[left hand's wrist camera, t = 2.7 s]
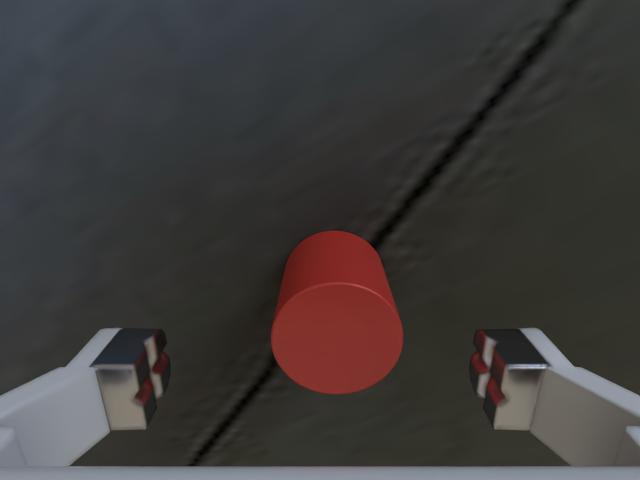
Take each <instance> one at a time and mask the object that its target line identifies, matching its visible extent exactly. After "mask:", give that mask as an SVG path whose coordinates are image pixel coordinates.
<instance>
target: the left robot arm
mask: <svg viewBox="0 0 640 480" xmlns="http://www.w3.org/2000/svg"><path fill="white" fill-rule="evenodd" d="M166 344H167V341H166V336H165V332H164V331H163V330H162V329H139V328H124V329H123V328H104V329H101V330H99V331H98V332H97V334H96V335H95V336H94V337H93V338H92V339H91V340H90V341H89V342H88V343H87V344H86V345H85V347H84V348H83V349H82V350H81V351H80V352H79V353H78V354H77V355H76V356H75V357H74V359H73V360H72V361H71V362H70V363H69V364H68V365H67V366H66V367H59V368H57V369H55V370H52V371H50V372H48V373H46V374H44V375H42V376H40V377H38V378H36V379H34V380H32V381H30V382H28V383H26V384H24V385H22V386H19V387H17V388H15V389H13V390H11V391H9V392H7V393H5V394H3V395H1V396H0V480H640V396H639V395H637V394H635V393H633V392H631V391H629V390H627V389H625V388H622V387H620V386H618V385H616V384H614V383H612V382H610V381H608V380H606V379H604V378H602V377H600V376H598V375H596V374H594V373H592V372H590V371H587V370H585V369H583V368H581V367H574V366H573V365H572V364H571V363H570V362H569V361H568V360H567V359H566V357H565V356H564V355H563V354H562V353H561V352H560V351H559V350H558V349H557V348H556V347H555V345H554V344H553V343H552V342H551V341H550V340H549V339H548V338H547V337H546V336H545V335H544V333H543V332H542V331H541V330H539V329H537V328H516V329H480V330H477V331H476V333H475V335H474V340H473V344H474V346H475V347H476V349H477V352H476V353H475V354H474V355H473V356H472V357H471V359H470V366H469V371H470V380H471V383H472V387H473V389H474V391H475V393H476V395H478V396H479V397H480V398H482V399H483V400H484V405H483V409H484V411H485V413H486V415H487V417H488V418H489V420H490V422H491V424H492V426H493V428H494V429H505V430H530V432H531V433H532V434H533V435H534V436H535V437H537V438H538V439H539V440H540V441H542V442H543V443H544V444H545V445H546V446H548V447H549V448H550V449H551V450H552V451H554V452H555V453H556V454H557V455H559V456H560V457H561V458H562V459H563V460H565V461H566V462H567V463H568V464H569V465H571V466H377V467H320V466H69V465H71V464H72V463H73V462H74V461H76V460H77V459H78V458H79V457H80V456H82V455H83V454H84V453H85V452H86V451H88V450H89V449H90V448H91V447H93V446H94V445H95V444H96V443H97V442H99V441H100V440H101V439H102V438H103V437H105V436H106V435H107V434H108V433H110V430H134V429H146V428H147V426H148V424H149V422H150V420H151V419H152V417H153V415H154V413H155V411H156V409H157V405H156V400H157V399H158V398H160V397H161V396H162V395H164V393H165V391H166V389H167V387H168V383H169V379H170V370H171V365H170V358H169V357H168V356H167V355H166V354H165V353H164V352H163V349H164V347H165V346H166Z"/></svg>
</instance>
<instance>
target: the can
mask: <svg viewBox="0 0 640 480" xmlns="http://www.w3.org/2000/svg"><path fill="white" fill-rule="evenodd" d="M271 346H272V351H273V354H274V356H275V359H276V361H277V362H278V364H279V366H280V367H281V369H282V370H283V371H284V372H285V373H286V374H287V375H288V376H289V377H290V378H291V379H292V380H293V381H295V382H296V383H298V384H300V385H301V386H303V387H305V388H307V389H310V390H313V391H316V392H320V393H326V394H348V393H353V392H357V391H360V390H363V389H366V388H368V387H370V386H372V385H374V384H376V383H377V382H379V381H380V380H381V379H383V378H384V377H385V376H386V375H387V374H388V373H389V372H390V371H391V369H392V368H393V367H394V365H395V364H396V362H397V360H398V358H399V356H400V353H401V350H402V346H403V329H402V324H401V321H400V318H399V315H398V311H397V308H396V305H395V302H394V299H393V296H392V293H391V290H390V287H389V284H388V281H387V278H386V275H385V272H384V269H383V266H382V263H381V260H380V257H379V256H378V254H377V252H376V251H375V250H374V248H373V247H372V246H371V245H370V244H369V243H368V242H367V241H365V240H364V239H362V238H361V237H359V236H357V235H354V234H352V233H348V232H344V231H324V232H320V233H317V234H314V235H312V236H310V237H308V238H306V239H305V240H303V241H302V242H301V243H300V244H298V245H297V246H296V248H295V249H294V250H293V251H292V253H291V254H290V256H289V258H288V261H287V263H286V267H285V271H284V276H283V280H282V285H281V289H280V293H279V298H278V302H277V307H276V311H275V316H274V320H273V324H272V329H271Z"/></svg>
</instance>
